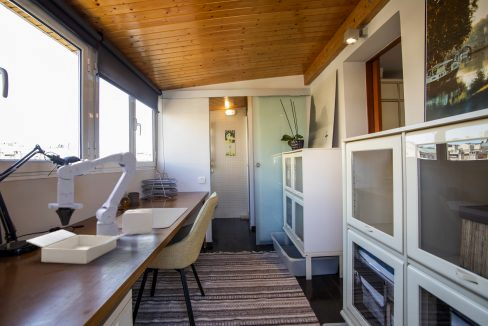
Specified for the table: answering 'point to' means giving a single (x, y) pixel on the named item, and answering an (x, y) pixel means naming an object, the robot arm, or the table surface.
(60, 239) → the flap
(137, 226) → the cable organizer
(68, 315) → the table surface
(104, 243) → the flap
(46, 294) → the table surface
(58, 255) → the carton
